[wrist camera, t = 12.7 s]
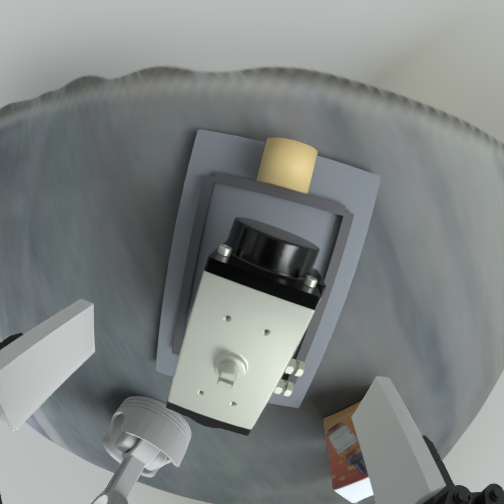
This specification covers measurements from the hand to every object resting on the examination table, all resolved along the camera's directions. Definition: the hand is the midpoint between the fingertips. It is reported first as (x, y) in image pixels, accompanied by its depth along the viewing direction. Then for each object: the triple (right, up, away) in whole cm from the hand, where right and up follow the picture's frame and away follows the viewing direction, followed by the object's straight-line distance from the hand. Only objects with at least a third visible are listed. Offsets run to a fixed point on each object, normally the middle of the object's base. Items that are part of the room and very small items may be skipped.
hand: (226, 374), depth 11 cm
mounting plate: (+1, +2, +13) cm, 13 cm away
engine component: (-12, -17, +18) cm, 28 cm away
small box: (+14, -14, +15) cm, 25 cm away
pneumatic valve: (+1, +2, +11) cm, 12 cm away
